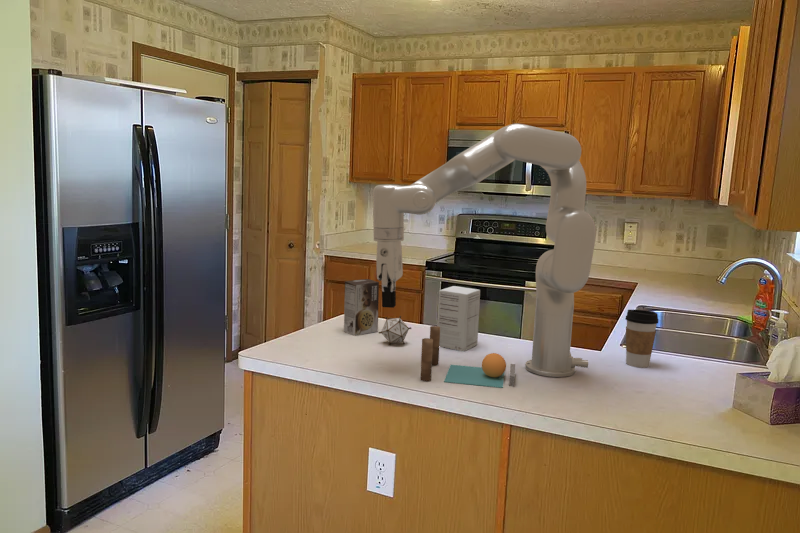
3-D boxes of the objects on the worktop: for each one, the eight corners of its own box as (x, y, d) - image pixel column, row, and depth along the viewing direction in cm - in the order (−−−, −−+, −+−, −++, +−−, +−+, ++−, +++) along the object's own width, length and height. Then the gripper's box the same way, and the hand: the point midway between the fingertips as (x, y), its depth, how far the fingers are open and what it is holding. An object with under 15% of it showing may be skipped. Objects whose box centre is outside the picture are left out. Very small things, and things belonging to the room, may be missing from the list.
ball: (484, 347, 155) (479, 369, 156) (484, 354, 149) (478, 377, 150) (508, 353, 154) (502, 375, 155) (508, 360, 148) (503, 383, 149)
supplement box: (450, 339, 187) (453, 285, 184) (478, 344, 182) (481, 289, 179) (435, 346, 178) (438, 289, 176) (464, 351, 174) (467, 293, 171)
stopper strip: (514, 373, 155) (515, 364, 155) (514, 386, 146) (514, 376, 145) (509, 373, 156) (510, 363, 155) (508, 385, 146) (509, 375, 146)
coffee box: (366, 327, 197) (367, 278, 195) (378, 332, 192) (380, 281, 190) (342, 331, 191) (344, 280, 189) (354, 336, 187) (356, 284, 184)
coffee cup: (614, 361, 169) (619, 308, 167) (636, 358, 173) (641, 306, 171) (638, 370, 162) (644, 315, 160) (660, 367, 166) (666, 313, 164)
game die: (399, 357, 179) (410, 335, 173) (372, 346, 179) (383, 324, 172) (406, 336, 186) (417, 314, 180) (380, 325, 186) (390, 303, 179)
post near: (431, 378, 149) (433, 338, 148) (430, 381, 147) (432, 341, 145) (421, 377, 150) (423, 337, 148) (419, 380, 147) (421, 340, 146)
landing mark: (504, 370, 158) (504, 369, 158) (502, 388, 144) (502, 387, 144) (450, 365, 161) (450, 364, 161) (443, 382, 147) (443, 381, 147)
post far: (439, 363, 162) (440, 326, 161) (437, 366, 160) (439, 328, 158) (429, 362, 163) (431, 325, 161) (427, 365, 160) (429, 327, 159)
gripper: (397, 237, 144) (397, 313, 147) (408, 232, 159) (408, 301, 161) (366, 237, 146) (367, 312, 148) (380, 231, 160) (381, 300, 163)
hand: (388, 306), depth 155 cm, fingers closed
